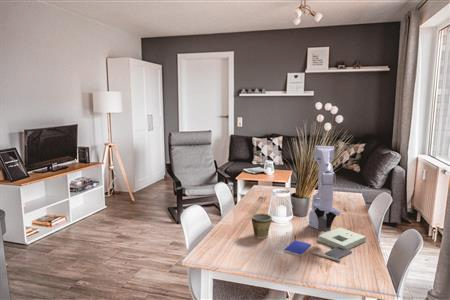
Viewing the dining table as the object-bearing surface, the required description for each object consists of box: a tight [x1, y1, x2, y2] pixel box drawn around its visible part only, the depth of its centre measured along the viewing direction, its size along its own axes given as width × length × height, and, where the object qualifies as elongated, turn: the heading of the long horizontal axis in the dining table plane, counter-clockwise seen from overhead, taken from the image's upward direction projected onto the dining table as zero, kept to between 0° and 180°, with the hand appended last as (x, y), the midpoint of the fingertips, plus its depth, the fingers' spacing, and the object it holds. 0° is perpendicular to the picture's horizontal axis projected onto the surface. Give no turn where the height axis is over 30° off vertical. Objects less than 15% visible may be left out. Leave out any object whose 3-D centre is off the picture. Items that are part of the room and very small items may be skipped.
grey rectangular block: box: [317, 216, 332, 233], centre depth 151 cm, size 4×4×6 cm
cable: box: [311, 251, 341, 263], centre depth 139 cm, size 12×1×1 cm, turn 51°
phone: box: [324, 247, 352, 260], centre depth 142 cm, size 6×11×1 cm, turn 126°
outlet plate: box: [317, 227, 367, 250], centre depth 156 cm, size 14×18×3 cm
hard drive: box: [283, 239, 312, 257], centre depth 147 cm, size 2×8×12 cm
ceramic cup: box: [251, 213, 273, 240], centre depth 161 cm, size 13×10×10 cm
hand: (324, 226), depth 151 cm, fingers closed on grey rectangular block, 4 cm apart
